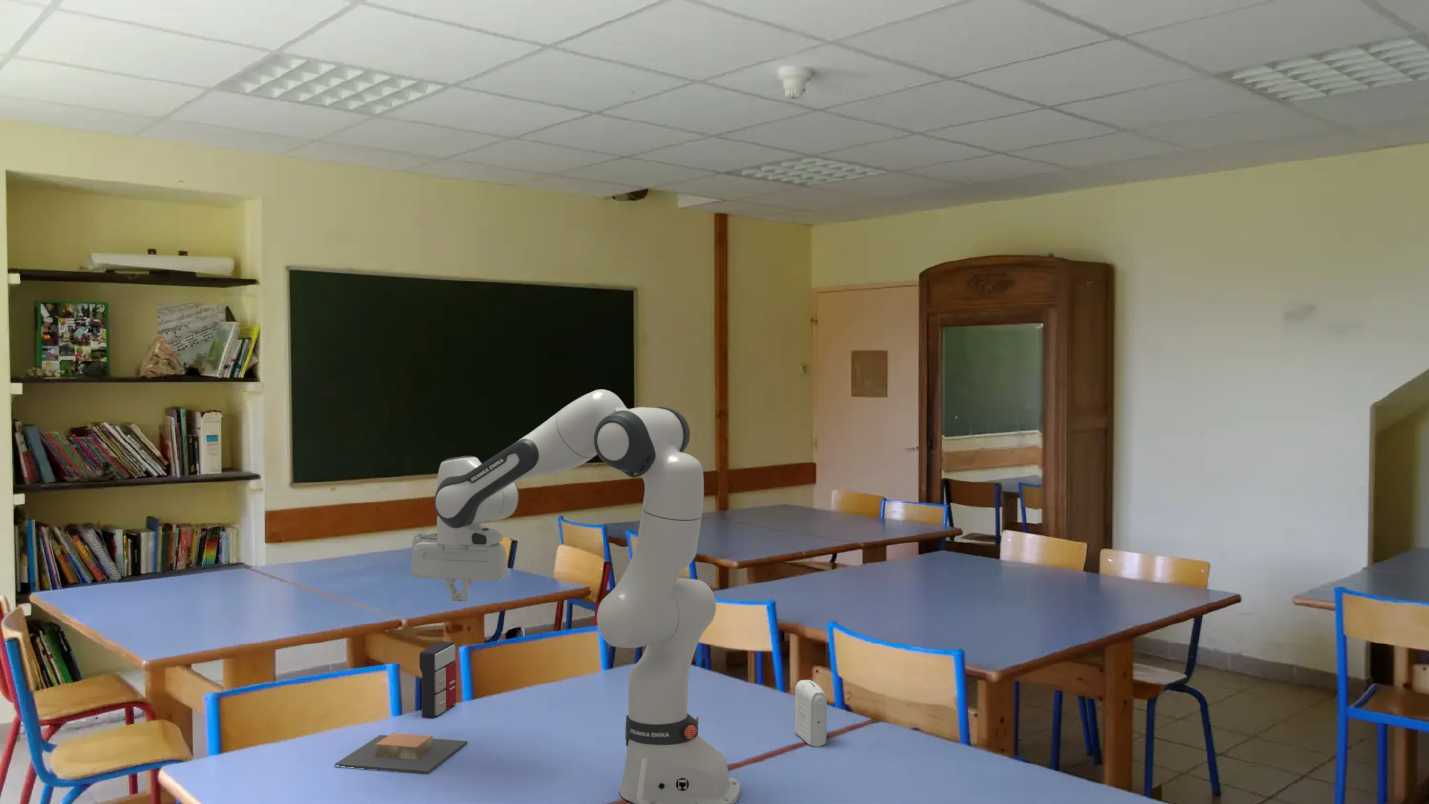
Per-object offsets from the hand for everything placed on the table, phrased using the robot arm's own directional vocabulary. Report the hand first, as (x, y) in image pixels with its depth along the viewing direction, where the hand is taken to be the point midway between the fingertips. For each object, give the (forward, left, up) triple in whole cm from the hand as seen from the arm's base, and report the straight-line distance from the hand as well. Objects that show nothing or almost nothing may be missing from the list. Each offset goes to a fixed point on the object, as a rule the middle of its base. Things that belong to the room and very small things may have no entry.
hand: (458, 600), depth 218 cm
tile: (+5, +5, -29) cm, 30 cm away
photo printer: (-71, -21, -31) cm, 80 cm away
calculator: (+16, -24, -31) cm, 43 cm away
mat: (+10, +5, -31) cm, 33 cm away
